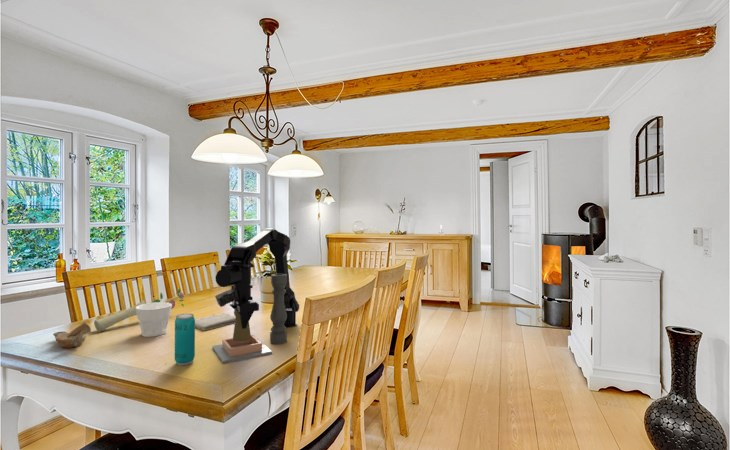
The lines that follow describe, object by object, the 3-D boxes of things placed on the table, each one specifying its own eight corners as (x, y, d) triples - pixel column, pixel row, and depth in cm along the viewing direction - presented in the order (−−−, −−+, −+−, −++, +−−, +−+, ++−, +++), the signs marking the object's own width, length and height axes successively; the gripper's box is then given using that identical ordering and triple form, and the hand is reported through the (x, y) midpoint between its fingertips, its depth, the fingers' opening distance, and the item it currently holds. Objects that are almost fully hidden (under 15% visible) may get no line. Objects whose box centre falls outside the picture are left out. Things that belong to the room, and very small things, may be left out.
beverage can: (179, 359, 119) (179, 313, 119) (197, 359, 120) (197, 313, 120) (171, 366, 114) (171, 318, 113) (190, 366, 114) (190, 317, 114)
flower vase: (99, 347, 150) (179, 310, 179) (111, 344, 143) (192, 307, 172) (88, 320, 150) (170, 288, 178) (100, 316, 143) (183, 283, 172)
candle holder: (290, 339, 140) (290, 274, 139) (281, 345, 134) (281, 276, 133) (275, 337, 142) (276, 273, 141) (266, 343, 136) (267, 275, 135)
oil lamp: (69, 355, 122) (69, 325, 122) (42, 343, 133) (42, 315, 133) (99, 347, 130) (98, 318, 129) (71, 336, 140) (71, 310, 140)
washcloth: (241, 322, 164) (241, 315, 164) (204, 332, 149) (204, 324, 149) (224, 318, 170) (224, 311, 170) (187, 327, 155) (187, 320, 155)
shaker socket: (257, 340, 139) (257, 331, 139) (272, 353, 125) (272, 344, 125) (212, 348, 130) (212, 338, 130) (222, 363, 116) (222, 353, 116)
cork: (245, 341, 124) (245, 309, 124) (229, 340, 125) (229, 308, 125) (254, 336, 130) (254, 305, 130) (238, 334, 131) (238, 304, 131)
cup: (176, 333, 145) (176, 305, 145) (141, 341, 136) (141, 311, 136) (165, 326, 154) (165, 300, 154) (131, 333, 145) (131, 305, 145)
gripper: (211, 279, 130) (211, 323, 131) (224, 288, 115) (224, 338, 115) (243, 277, 137) (243, 319, 137) (259, 285, 121) (259, 332, 121)
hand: (242, 326), depth 128 cm, fingers closed on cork, 4 cm apart
